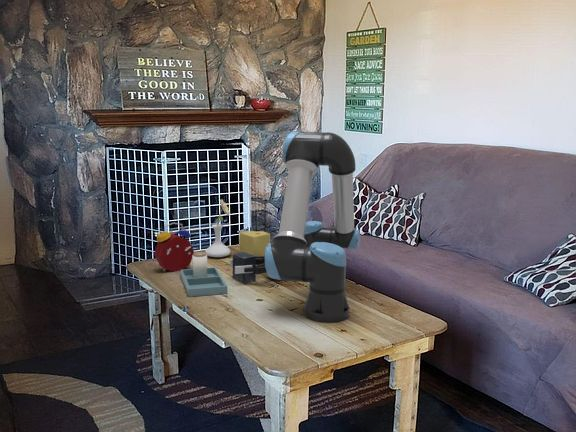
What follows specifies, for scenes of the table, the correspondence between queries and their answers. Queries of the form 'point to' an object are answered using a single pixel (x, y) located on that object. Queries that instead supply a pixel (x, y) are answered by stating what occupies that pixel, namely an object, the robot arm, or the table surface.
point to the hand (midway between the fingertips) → (232, 266)
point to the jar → (199, 264)
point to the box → (244, 260)
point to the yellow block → (254, 242)
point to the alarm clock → (173, 250)
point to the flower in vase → (218, 237)
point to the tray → (204, 283)
